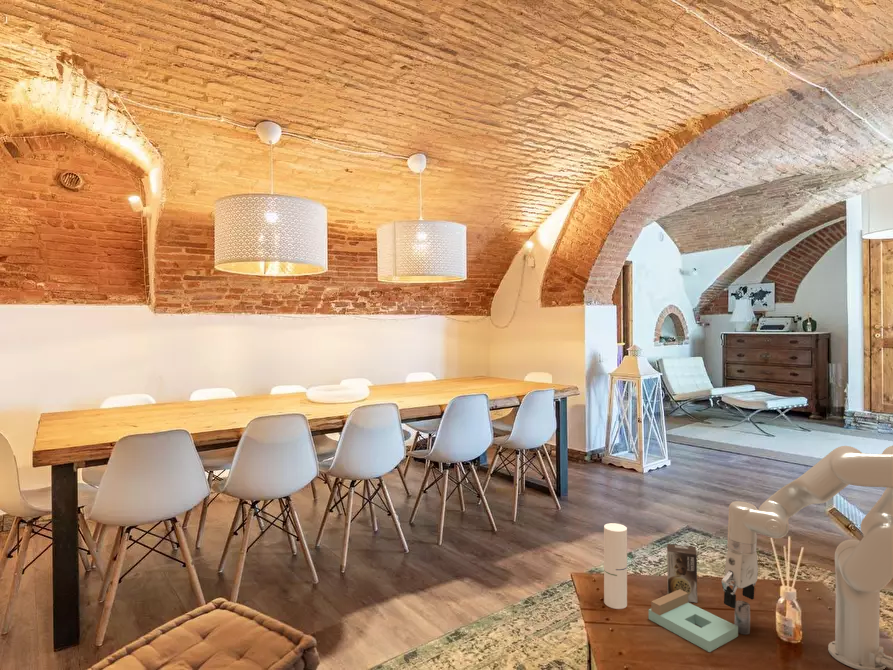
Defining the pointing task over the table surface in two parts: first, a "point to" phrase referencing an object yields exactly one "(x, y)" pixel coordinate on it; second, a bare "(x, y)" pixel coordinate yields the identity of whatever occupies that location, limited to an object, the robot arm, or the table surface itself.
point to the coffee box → (682, 570)
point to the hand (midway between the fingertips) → (738, 601)
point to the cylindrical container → (615, 565)
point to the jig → (691, 621)
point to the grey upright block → (742, 617)
